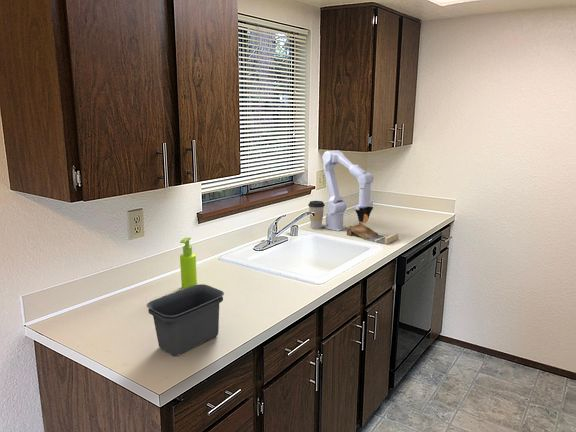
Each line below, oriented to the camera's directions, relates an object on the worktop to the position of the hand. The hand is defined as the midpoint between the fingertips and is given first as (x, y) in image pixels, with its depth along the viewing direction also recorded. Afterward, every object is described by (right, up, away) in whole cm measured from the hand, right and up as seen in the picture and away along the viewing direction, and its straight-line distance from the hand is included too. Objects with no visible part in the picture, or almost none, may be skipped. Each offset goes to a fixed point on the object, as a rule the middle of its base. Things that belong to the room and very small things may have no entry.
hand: (363, 220), depth 249 cm
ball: (0, +1, 0) cm, 1 cm away
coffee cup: (-24, -4, +17) cm, 30 cm away
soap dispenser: (-79, -26, -67) cm, 107 cm away
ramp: (0, -9, +2) cm, 9 cm away
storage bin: (-71, -36, -107) cm, 134 cm away
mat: (+8, -10, -5) cm, 14 cm away
